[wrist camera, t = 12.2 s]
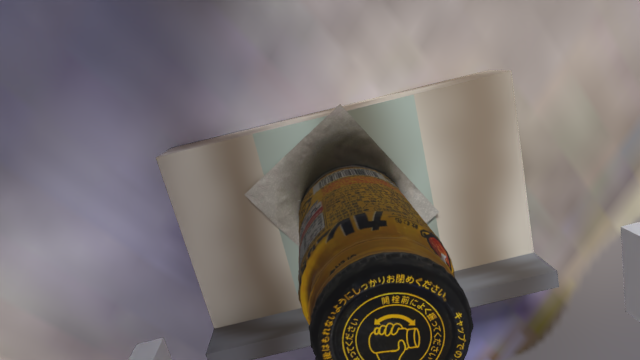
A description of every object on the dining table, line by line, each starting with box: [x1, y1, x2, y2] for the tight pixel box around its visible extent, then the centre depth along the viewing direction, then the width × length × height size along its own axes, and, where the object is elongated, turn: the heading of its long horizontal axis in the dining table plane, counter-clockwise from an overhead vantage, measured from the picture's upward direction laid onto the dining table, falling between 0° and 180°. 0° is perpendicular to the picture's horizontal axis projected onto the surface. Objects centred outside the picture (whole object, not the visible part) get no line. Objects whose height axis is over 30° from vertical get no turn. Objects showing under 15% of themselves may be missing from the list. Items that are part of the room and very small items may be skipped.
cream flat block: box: [156, 70, 559, 360], centre depth 26 cm, size 20×12×6 cm, turn 103°
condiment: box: [244, 104, 473, 360], centre depth 19 cm, size 7×8×12 cm
